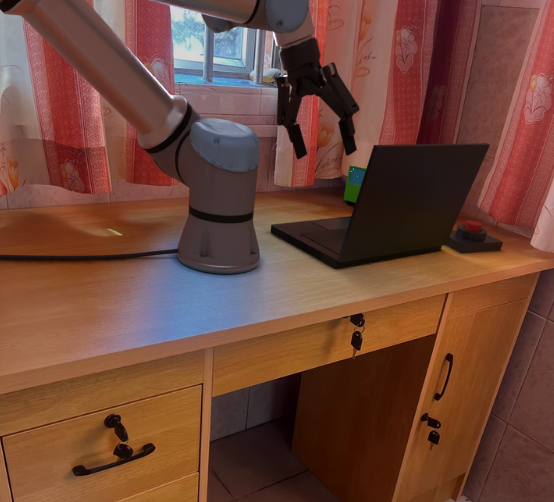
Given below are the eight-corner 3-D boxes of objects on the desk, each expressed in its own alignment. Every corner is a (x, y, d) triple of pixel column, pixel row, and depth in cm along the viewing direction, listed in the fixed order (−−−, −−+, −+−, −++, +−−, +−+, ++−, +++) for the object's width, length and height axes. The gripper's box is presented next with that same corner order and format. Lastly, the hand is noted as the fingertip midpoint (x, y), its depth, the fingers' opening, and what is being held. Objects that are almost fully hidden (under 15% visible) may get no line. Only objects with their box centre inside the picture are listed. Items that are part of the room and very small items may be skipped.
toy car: (392, 203, 156) (400, 166, 151) (374, 212, 146) (382, 172, 140) (358, 194, 160) (365, 158, 155) (339, 203, 150) (345, 164, 144)
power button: (471, 233, 126) (473, 225, 125) (460, 228, 129) (462, 220, 128) (483, 232, 127) (485, 225, 126) (472, 227, 130) (474, 220, 129)
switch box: (460, 253, 124) (465, 236, 122) (434, 240, 131) (439, 223, 129) (500, 251, 129) (505, 234, 127) (473, 237, 136) (478, 221, 134)
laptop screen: (373, 144, 93) (376, 146, 92) (486, 143, 109) (490, 144, 109) (336, 260, 106) (339, 262, 106) (442, 243, 123) (445, 245, 123)
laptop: (270, 232, 122) (271, 223, 121) (372, 220, 139) (373, 213, 138) (335, 269, 107) (336, 259, 106) (440, 251, 124) (442, 242, 123)
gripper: (361, 21, 98) (385, 143, 109) (265, 49, 115) (294, 151, 126) (335, 34, 94) (363, 158, 105) (239, 60, 111) (272, 165, 123)
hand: (325, 155), depth 116 cm, fingers open, 13 cm apart
